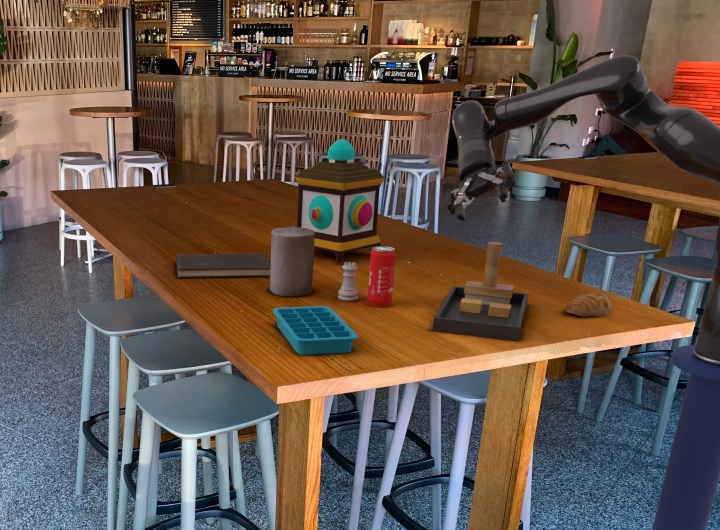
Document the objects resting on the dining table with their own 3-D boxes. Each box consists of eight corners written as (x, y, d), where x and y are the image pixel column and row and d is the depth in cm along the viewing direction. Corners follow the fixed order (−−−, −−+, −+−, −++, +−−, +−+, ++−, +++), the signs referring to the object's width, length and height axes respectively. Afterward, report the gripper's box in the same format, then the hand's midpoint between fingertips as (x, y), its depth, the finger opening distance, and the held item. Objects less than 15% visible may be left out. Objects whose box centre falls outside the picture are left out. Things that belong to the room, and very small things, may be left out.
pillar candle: (319, 289, 181) (323, 224, 175) (299, 299, 174) (302, 231, 168) (282, 283, 186) (284, 219, 180) (261, 292, 179) (262, 226, 173)
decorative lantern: (283, 253, 215) (286, 138, 204) (330, 243, 227) (336, 134, 216) (340, 266, 201) (347, 144, 190) (387, 255, 213) (397, 139, 202)
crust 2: (489, 311, 163) (490, 302, 162) (510, 314, 161) (511, 304, 160) (487, 315, 160) (489, 306, 159) (508, 318, 159) (510, 308, 158)
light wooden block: (461, 307, 166) (462, 298, 165) (481, 309, 164) (482, 300, 163) (459, 311, 163) (460, 301, 162) (479, 313, 162) (480, 304, 161)
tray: (451, 297, 175) (452, 285, 174) (526, 305, 169) (528, 293, 168) (432, 330, 153) (434, 317, 152) (518, 341, 147) (520, 327, 146)
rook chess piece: (362, 300, 173) (364, 264, 170) (346, 303, 171) (348, 266, 168) (349, 295, 177) (351, 260, 174) (333, 298, 174) (335, 262, 171)
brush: (465, 297, 172) (472, 239, 167) (511, 302, 169) (520, 243, 164) (462, 302, 169) (469, 243, 164) (510, 307, 165) (519, 247, 160)
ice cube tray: (295, 356, 140) (296, 340, 138) (270, 322, 158) (271, 308, 157) (359, 353, 141) (360, 337, 140) (327, 320, 160) (328, 305, 158)
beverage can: (380, 308, 167) (385, 252, 162) (361, 303, 171) (366, 248, 166) (396, 304, 170) (401, 249, 165) (377, 299, 174) (381, 244, 169)
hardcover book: (272, 276, 192) (272, 267, 191) (177, 278, 191) (177, 268, 190) (264, 261, 207) (264, 252, 206) (176, 262, 206) (176, 254, 205)
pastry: (585, 320, 159) (588, 302, 157) (555, 312, 164) (558, 294, 163) (613, 313, 163) (616, 295, 162) (584, 305, 169) (587, 288, 167)
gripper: (515, 160, 170) (523, 206, 160) (453, 191, 178) (457, 236, 168) (500, 134, 166) (507, 179, 156) (438, 167, 174) (440, 211, 164)
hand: (481, 208), depth 162 cm, fingers open, 8 cm apart
